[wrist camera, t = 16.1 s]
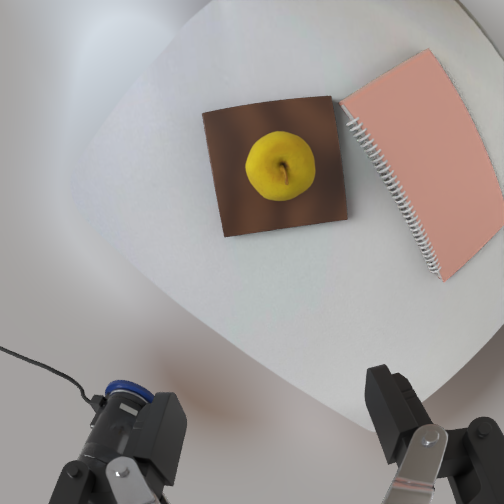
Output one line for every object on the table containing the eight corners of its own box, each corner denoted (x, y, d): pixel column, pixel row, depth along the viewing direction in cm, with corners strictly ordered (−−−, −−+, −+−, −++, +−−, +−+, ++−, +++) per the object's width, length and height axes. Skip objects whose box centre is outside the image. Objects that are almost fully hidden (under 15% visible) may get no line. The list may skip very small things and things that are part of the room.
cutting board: (225, 234, 34) (224, 237, 32) (204, 115, 29) (201, 113, 28) (344, 216, 33) (347, 219, 31) (328, 98, 28) (331, 95, 27)
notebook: (330, 108, 29) (334, 105, 27) (422, 51, 25) (429, 47, 23) (432, 282, 35) (439, 287, 33) (502, 216, 31) (510, 219, 30)
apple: (279, 207, 31) (286, 223, 23) (235, 167, 30) (226, 171, 22) (320, 164, 29) (340, 167, 22) (275, 123, 28) (281, 112, 21)
